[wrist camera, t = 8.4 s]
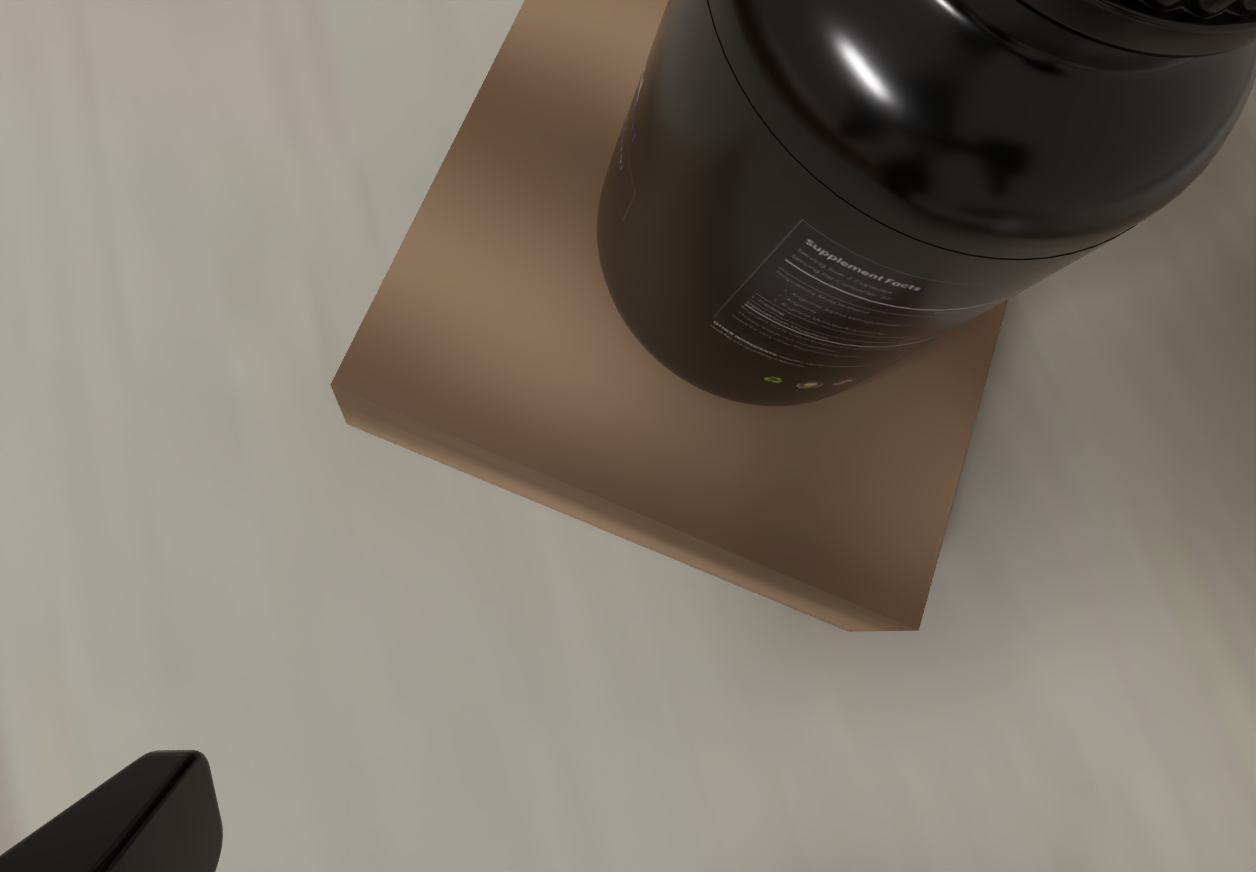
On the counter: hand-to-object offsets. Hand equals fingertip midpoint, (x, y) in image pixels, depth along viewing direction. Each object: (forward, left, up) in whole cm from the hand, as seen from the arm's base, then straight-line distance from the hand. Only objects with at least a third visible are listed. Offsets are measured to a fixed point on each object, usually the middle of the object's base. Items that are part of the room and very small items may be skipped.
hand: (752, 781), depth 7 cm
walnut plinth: (+10, 0, -11) cm, 15 cm away
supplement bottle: (+9, 0, -9) cm, 13 cm away
